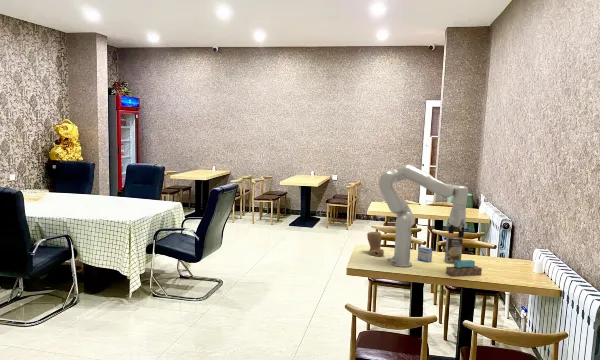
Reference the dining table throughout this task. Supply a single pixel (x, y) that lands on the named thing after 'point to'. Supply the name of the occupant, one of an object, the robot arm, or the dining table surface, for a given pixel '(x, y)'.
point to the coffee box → (453, 249)
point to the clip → (464, 264)
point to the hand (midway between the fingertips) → (455, 235)
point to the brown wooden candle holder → (463, 271)
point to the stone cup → (375, 243)
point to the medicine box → (424, 254)
